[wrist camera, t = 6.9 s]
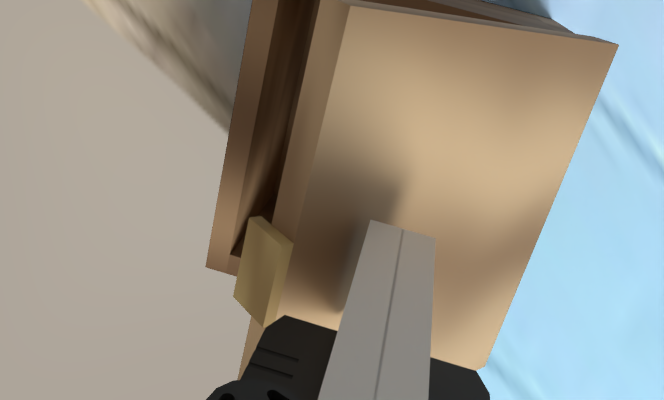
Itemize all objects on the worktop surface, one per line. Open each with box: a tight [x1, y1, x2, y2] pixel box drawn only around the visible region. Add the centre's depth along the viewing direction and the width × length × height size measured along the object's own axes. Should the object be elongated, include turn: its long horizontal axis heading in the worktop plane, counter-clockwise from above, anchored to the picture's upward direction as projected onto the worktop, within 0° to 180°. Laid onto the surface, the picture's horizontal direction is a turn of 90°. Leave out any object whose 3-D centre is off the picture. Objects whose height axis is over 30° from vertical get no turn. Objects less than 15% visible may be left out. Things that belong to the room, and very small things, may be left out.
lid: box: [233, 0, 619, 380], centre depth 16 cm, size 11×10×1 cm
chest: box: [206, 0, 575, 276], centre depth 24 cm, size 11×10×7 cm
